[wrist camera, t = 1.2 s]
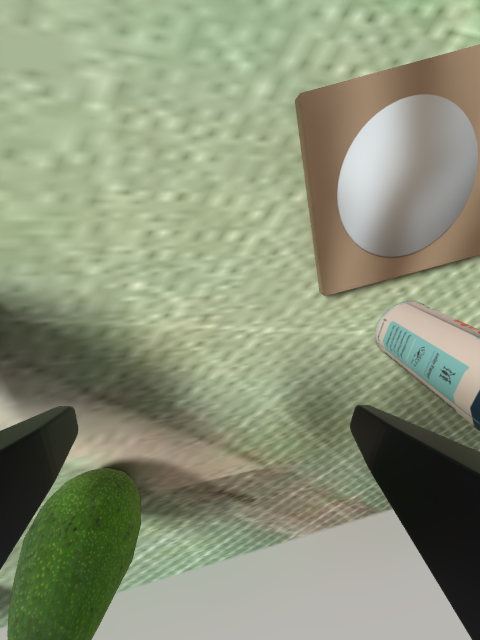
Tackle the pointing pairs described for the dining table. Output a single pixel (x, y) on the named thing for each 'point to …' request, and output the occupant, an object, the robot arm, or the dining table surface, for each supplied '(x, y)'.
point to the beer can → (435, 354)
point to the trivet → (393, 170)
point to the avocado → (75, 557)
